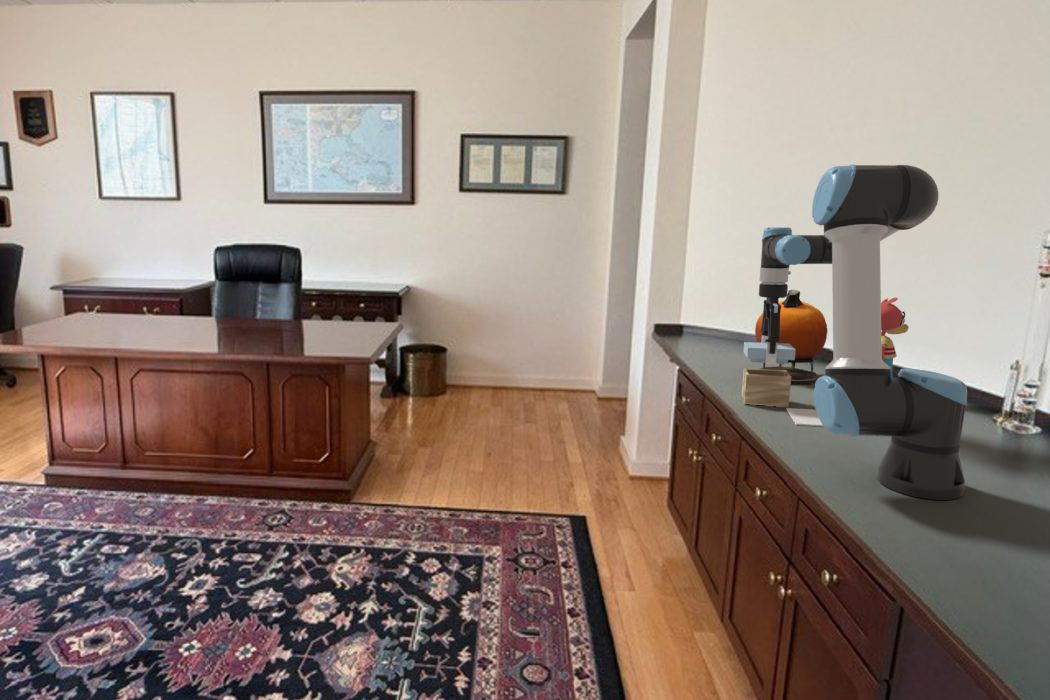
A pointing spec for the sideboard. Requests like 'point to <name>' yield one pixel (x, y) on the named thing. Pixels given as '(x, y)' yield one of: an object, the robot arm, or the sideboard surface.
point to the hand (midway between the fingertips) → (767, 361)
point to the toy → (890, 329)
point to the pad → (804, 417)
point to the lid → (758, 352)
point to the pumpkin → (799, 335)
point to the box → (766, 387)
